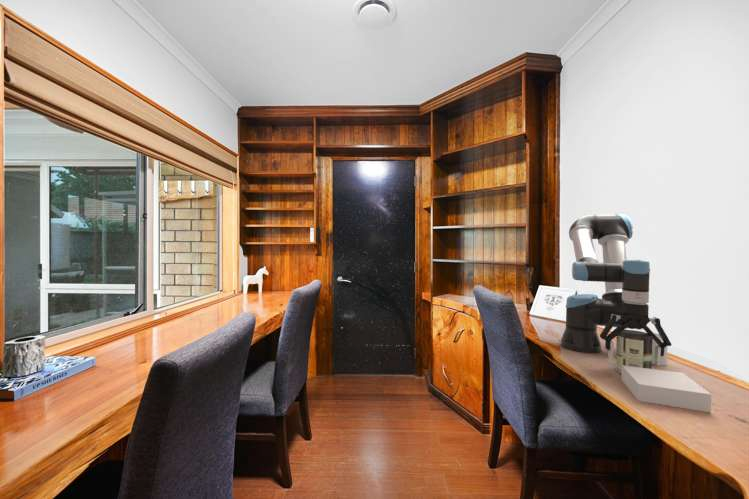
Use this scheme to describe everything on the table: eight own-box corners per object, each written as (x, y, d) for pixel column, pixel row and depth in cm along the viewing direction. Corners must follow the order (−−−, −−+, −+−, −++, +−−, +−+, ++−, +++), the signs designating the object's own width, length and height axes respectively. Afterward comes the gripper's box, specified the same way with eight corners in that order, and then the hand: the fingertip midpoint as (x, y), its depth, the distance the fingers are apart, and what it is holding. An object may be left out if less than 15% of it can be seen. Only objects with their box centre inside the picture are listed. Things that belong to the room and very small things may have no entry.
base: (621, 379, 110) (621, 365, 110) (682, 388, 104) (682, 373, 104) (638, 401, 95) (638, 384, 95) (710, 412, 89) (711, 394, 89)
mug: (637, 357, 133) (637, 331, 132) (661, 359, 130) (662, 333, 129) (649, 367, 121) (650, 339, 121) (676, 371, 118) (677, 342, 118)
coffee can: (640, 368, 121) (641, 330, 121) (659, 379, 111) (660, 338, 110) (609, 365, 123) (610, 328, 123) (624, 376, 113) (625, 336, 113)
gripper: (596, 301, 118) (594, 359, 118) (685, 307, 108) (683, 371, 108) (591, 298, 125) (590, 353, 125) (674, 303, 115) (673, 363, 115)
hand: (633, 361), depth 117 cm, fingers open, 13 cm apart
